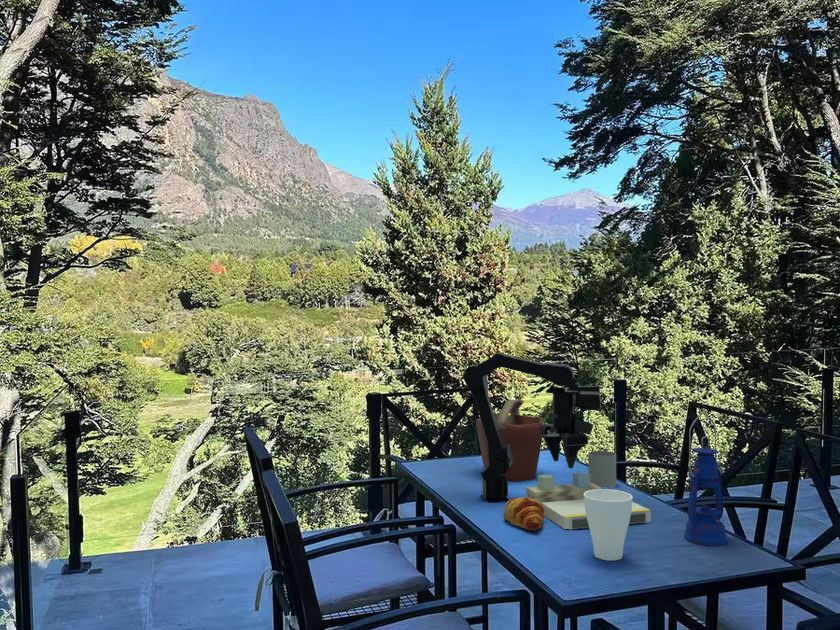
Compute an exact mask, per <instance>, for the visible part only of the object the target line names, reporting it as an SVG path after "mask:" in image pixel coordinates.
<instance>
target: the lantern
mask: <svg viewBox="0 0 840 630" xmlns="http://www.w3.org/2000/svg"><path fill="white" fill-rule="evenodd" d="M702 415H704V416H705V417H706V418H708V419H709V421H711V423H712V424H713V427H714V448H710V446H711V445H710V444H711V443H710V442H711V440H710V437H709V436H708V435H704V436H702V437H701V440H700V442H701V447H696V448H693V451H694V453H696V456H697V459H695V460H694V465H693V467H694V469H693V470H692V469H691V467H692V466H691V465H692V456H691V454H692V453H691V452H692V451H691V450H692V449H691V446H692V445H691V443H692V441H691V440H692V439H691V437H692V436H691V433H692V428H693V426H694V425H695V423H696V422H697V420H698V419H700V417H701V416H702ZM688 431H689V432H688V434H689V435H688V437H689V439H688V458H689V459H688V460H689V461H688V462H689V463H688V464H689V465H688V466H689V472H688V473H689V478H690V484H689V494H688V495H689V496H688V505H687V517H688V520H687V521H686V524H685V531H684V536H683V537H684V538H685V540H686V541H688V542H690V543H693V544H697V545H701V546H707V547H721V546H726V545H727V543H728V541H729V540H728V536H727V533H726V532H727V531H726V526H725V523H724V522H722V521H721V518H722V517H723V514H724V502H723V501H724V500H723V499H724V498H723V490H722V478H721V475H722V474H723V471H722V469H720V468H719V464H718V462H717V455H718V450H717V427H716V424H715V422H714V421H713V419H712V418H711V417H710V416H709V415H707V414H706V413H705V412H704V411H703V412H700V414H699V415H698V416H697V417H696V418H695V419H694V420H693V422H692V423H691V425H690V427H689V430H688ZM705 438H707V445H706V446H705V447H704V439H705ZM714 457H715V458H714ZM699 487H701V488H710V489H711V488H713V491H714V500H715V501H714V502H715V507H711V506H709V505H707V504H703V505H701V506H697V499H698V498H697V497H698V488H699Z"/></svg>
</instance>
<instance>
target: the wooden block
mask: <svg viewBox="0 0 840 630" xmlns="http://www.w3.org/2000/svg"><path fill="white" fill-rule="evenodd" d="M525 489H526V498H531V499H534V500H537V501H538V502H539V503H540V504H541V503H543V502H556V501H569V500H581V499H584V492H586V491H588V490H593V489H601V487H599V486H597V485H595V484H593V483H590V487H587V488H577V487H575V486H574V485H573V483H567V484H555V490H547V491H542V490H541V489H539V488H538V485H537V486H527V487H526V488H525Z"/></svg>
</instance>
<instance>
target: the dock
mask: <svg viewBox="0 0 840 630" xmlns="http://www.w3.org/2000/svg"><path fill="white" fill-rule="evenodd" d="M541 505H542V506H543V508H544V517H545V516H546V517H545V518H546V519H548V518H549V519H548V520H550V521H551V520H552V521H551V522H553V523H554V522H555V523H554V524H556V525H557V524H558V525H557V526H559V527H560V526H561V527H562V529H563V528H564V529H569V530H578V528H579V529H580V528H581V529H590V528H589V525H588V521H587V516H586V511H585V506H584V499H581V500H569V501H556V502H543V503H541ZM651 513H652V511H651V509H649V508H648V507H647V508H646V507H644V506H642V505H641V504H638V503H636V502H634V501H632V511H631V516H630V521H629V525H635V524H636V525H637V524H645V523H647V524H648V523H651V522H652V521H651V520H652V519H651V518H652V516H651V515H652V514H651ZM561 527H560V528H561ZM564 529H563V530H564Z"/></svg>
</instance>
